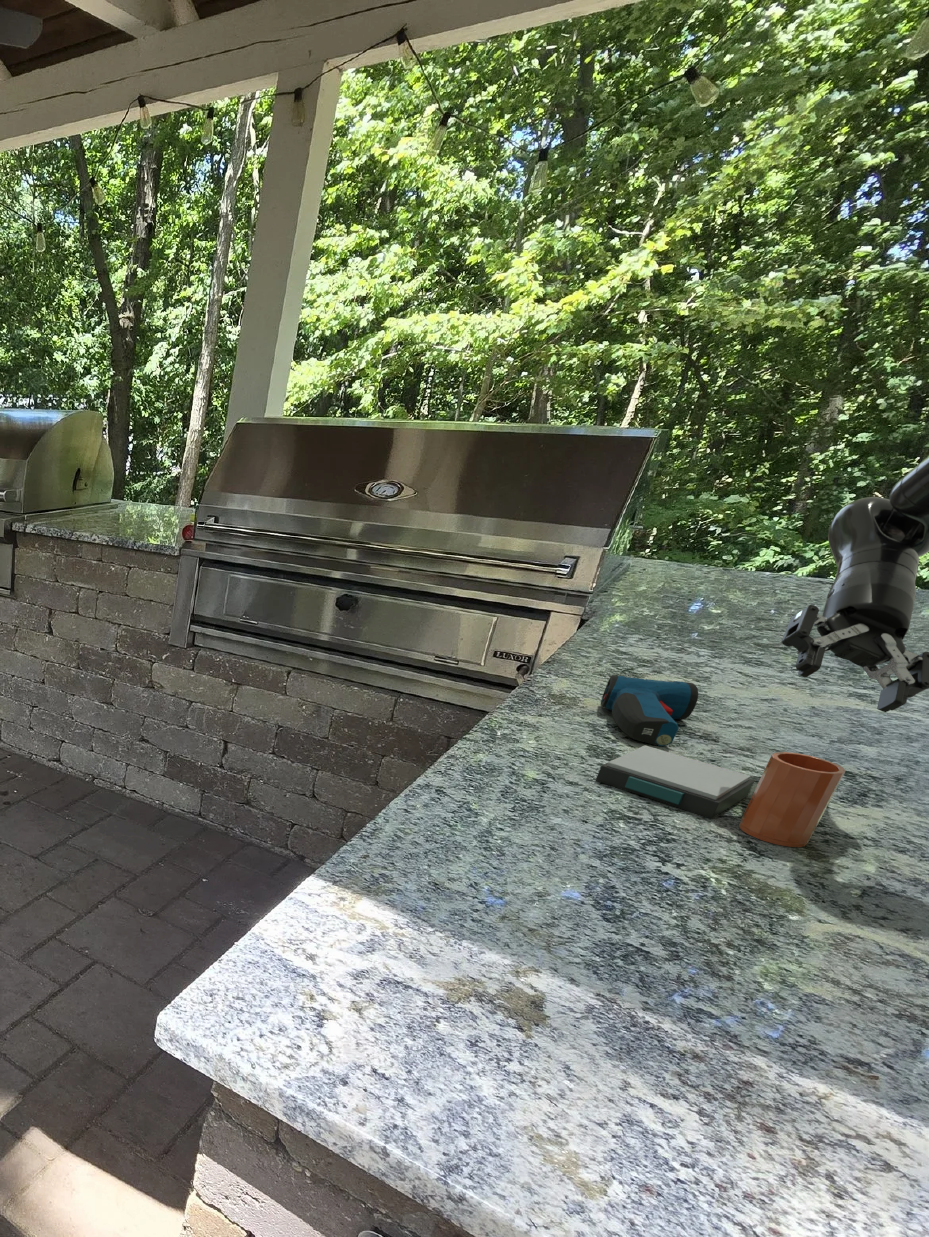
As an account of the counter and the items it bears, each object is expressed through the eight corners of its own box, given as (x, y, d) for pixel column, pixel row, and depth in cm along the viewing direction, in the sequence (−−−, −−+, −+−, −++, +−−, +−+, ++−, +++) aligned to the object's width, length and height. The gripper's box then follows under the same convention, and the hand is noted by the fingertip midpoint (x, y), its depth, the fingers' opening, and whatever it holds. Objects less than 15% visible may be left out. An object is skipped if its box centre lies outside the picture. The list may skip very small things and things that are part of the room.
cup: (814, 839, 99) (852, 766, 95) (797, 852, 96) (836, 777, 92) (748, 818, 104) (782, 748, 100) (730, 830, 101) (764, 758, 97)
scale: (747, 795, 110) (757, 776, 109) (710, 819, 103) (719, 799, 102) (634, 761, 120) (641, 743, 119) (593, 781, 114) (601, 762, 112)
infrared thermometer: (741, 724, 120) (689, 677, 137) (634, 710, 125) (596, 667, 141) (723, 761, 123) (674, 711, 139) (619, 747, 128) (583, 700, 144)
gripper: (833, 560, 102) (811, 643, 96) (966, 612, 98) (951, 702, 91) (780, 598, 109) (756, 678, 102) (902, 648, 104) (885, 735, 98)
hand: (848, 690), depth 97 cm, fingers open, 8 cm apart
